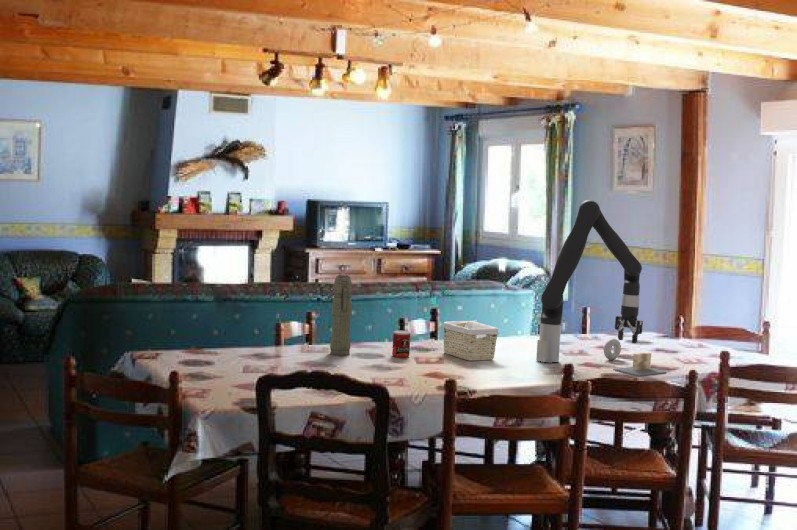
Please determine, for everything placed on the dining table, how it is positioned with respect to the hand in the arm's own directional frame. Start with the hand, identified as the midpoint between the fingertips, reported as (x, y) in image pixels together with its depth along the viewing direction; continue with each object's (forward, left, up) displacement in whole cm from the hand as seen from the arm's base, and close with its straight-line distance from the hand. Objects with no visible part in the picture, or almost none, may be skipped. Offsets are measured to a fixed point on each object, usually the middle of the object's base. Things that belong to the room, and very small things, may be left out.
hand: (627, 341), depth 437 cm
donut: (+8, +16, -12) cm, 22 cm away
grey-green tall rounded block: (-104, +72, -12) cm, 127 cm away
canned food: (-81, +58, -12) cm, 100 cm away
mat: (-1, -9, -12) cm, 15 cm away
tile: (+2, -7, -11) cm, 13 cm away
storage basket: (-51, +47, -12) cm, 71 cm away
